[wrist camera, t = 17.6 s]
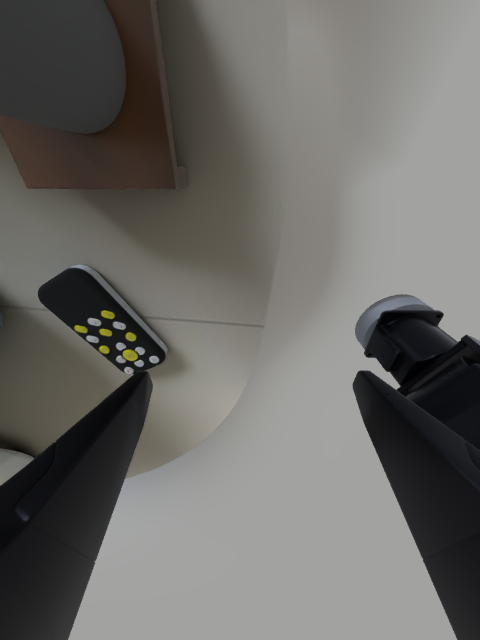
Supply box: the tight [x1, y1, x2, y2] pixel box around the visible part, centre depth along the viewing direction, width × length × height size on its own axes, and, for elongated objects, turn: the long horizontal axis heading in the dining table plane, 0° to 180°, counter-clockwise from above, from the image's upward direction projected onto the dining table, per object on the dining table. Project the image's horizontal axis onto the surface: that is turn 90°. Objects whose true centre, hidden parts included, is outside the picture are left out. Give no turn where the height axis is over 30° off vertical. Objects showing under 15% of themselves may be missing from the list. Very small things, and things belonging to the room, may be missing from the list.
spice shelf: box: [0, 0, 188, 189], centre depth 11 cm, size 9×11×7 cm
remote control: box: [38, 265, 168, 374], centre depth 23 cm, size 6×13×2 cm, turn 28°
